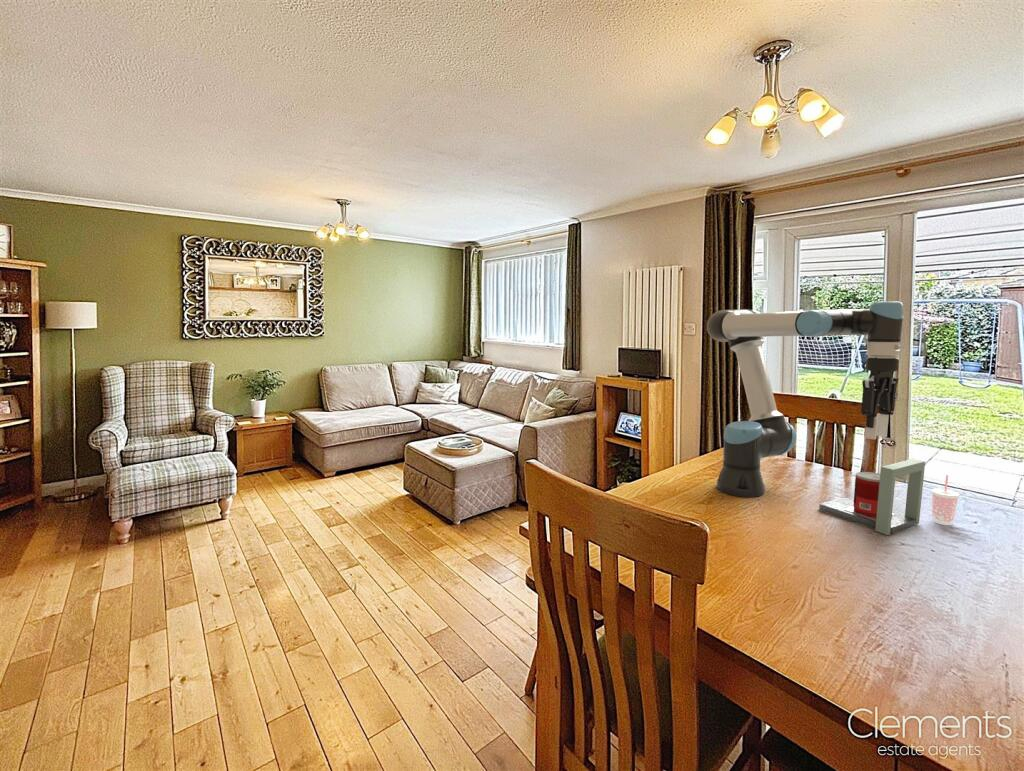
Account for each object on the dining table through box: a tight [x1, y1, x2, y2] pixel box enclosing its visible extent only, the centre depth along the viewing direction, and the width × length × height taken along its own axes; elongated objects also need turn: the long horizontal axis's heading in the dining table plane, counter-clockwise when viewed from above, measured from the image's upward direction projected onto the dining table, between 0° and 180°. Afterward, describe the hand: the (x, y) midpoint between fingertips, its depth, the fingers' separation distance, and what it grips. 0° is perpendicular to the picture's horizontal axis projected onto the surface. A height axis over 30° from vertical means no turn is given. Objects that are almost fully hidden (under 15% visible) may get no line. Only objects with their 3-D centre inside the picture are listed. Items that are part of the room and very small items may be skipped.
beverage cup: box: [931, 474, 960, 526], centre depth 143 cm, size 6×6×14 cm
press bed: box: [818, 496, 916, 535], centre depth 148 cm, size 20×12×2 cm, turn 26°
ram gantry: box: [874, 458, 926, 536], centre depth 139 cm, size 3×16×18 cm, turn 116°
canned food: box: [853, 471, 880, 516], centre depth 146 cm, size 8×8×11 cm
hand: (875, 437), depth 144 cm, fingers open, 4 cm apart
